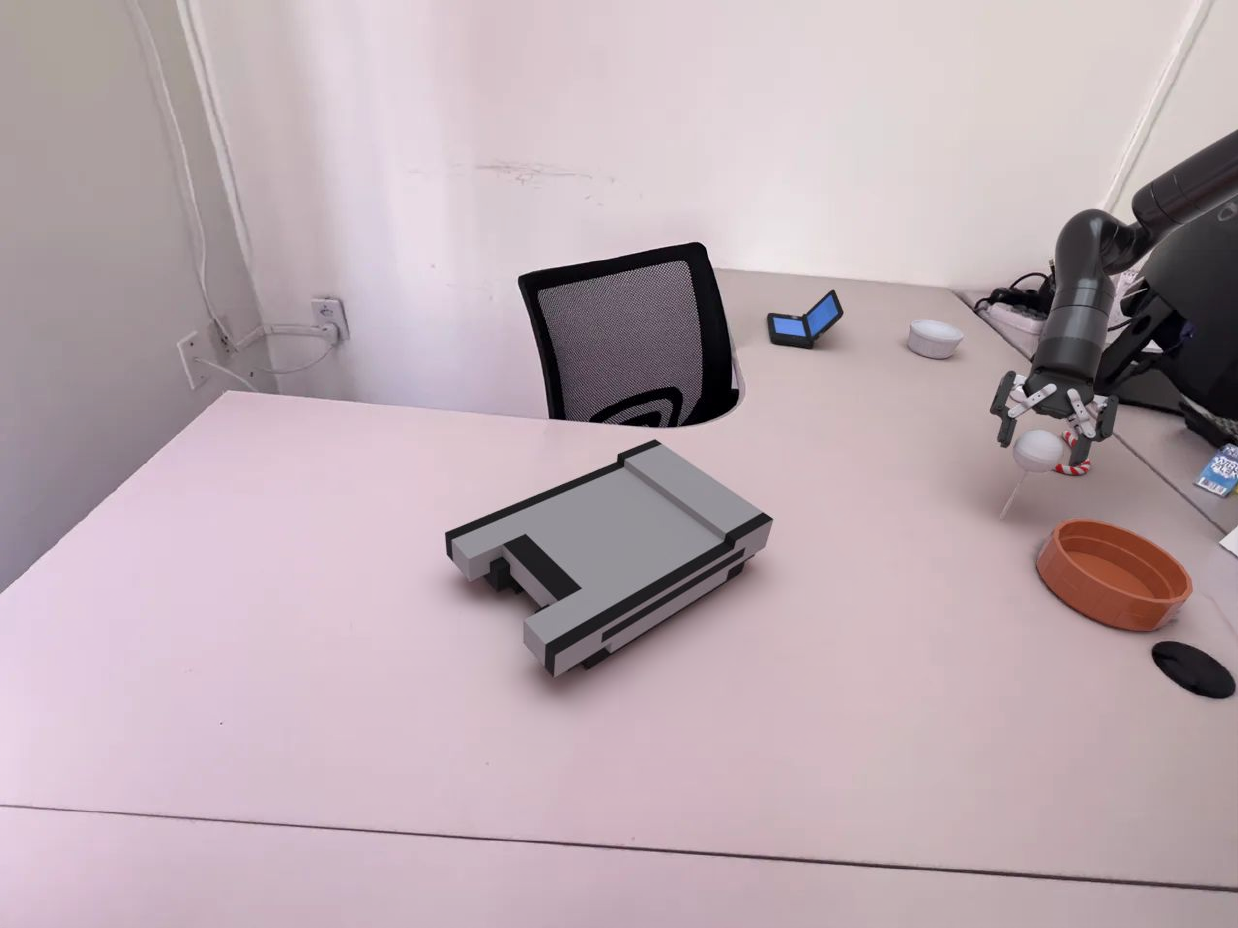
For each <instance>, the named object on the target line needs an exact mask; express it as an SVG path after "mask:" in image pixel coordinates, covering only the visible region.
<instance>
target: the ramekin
mask: <svg viewBox="0 0 1238 928" xmlns="http://www.w3.org/2000/svg"><path fill="white" fill-rule="evenodd" d="M964 337H965V334H964V332H962V330H960V328H958V327H956V326H954V325H951V324H950V323H946V322H943V321H938V320H934V319H915V320H912V321H911V322H910V324H909V331H908V338H907V346H908V348H909V350H911V351H912V352H913V353H916V354H918V355H920V356H923V357H924V358H925V357H926V358H930V359H936V360H937V359H938V360H942V359H943V360H944V359H947V358H949V357H951V356H952V355H954V353H955V351H956V350H957V348H958V346H959V345H960V343H961V342H962V341H963V340H964Z"/></svg>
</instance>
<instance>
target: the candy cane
mask: <svg viewBox="0 0 1238 928" xmlns="http://www.w3.org/2000/svg"><path fill="white" fill-rule="evenodd" d="M1061 437H1062V438H1063V439H1064V441H1065V442H1067V444H1068V445H1069V446H1070V448H1071V450H1072V449H1073V445H1074V442H1075V441H1076V440H1077V438H1075V437H1074V435H1073V434H1071V432H1069V431H1068V430H1063V431H1062V432H1061ZM1090 467H1091V460H1090V457H1088V458H1087V460H1086V461H1085V462H1084V463H1082V464H1080V465H1078V466H1076V467H1071V466H1068V465H1065V464H1062V463H1059V464H1058V465H1057V466H1056V467H1055V468H1053V469H1052V470H1053V471H1055V472H1059V473H1062V474H1064V475H1065V474H1066V475H1071V476H1072V475H1073V476H1078V475H1082V474H1085V473H1087V472H1088V471H1089V469H1090Z"/></svg>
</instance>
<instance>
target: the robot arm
mask: <svg viewBox="0 0 1238 928" xmlns="http://www.w3.org/2000/svg"><path fill="white" fill-rule="evenodd" d="M1237 195H1238V128H1237V129H1235V130H1234V131H1231V132H1230V133H1228V134H1226V135H1224V136H1223V137H1221V138H1220V139H1218V140H1216V141H1214V142H1212V143H1210V144H1209V145H1207V146H1206V147H1203V148H1202V149H1200V150H1199V151H1197V152H1195V153H1193V154H1192V155H1190V156H1189V157H1187V158H1186V159H1184V160H1182V161H1181V162H1179V163H1177V164H1176V165H1174V166H1173V167H1172V168H1170V169H1168V170H1167V171H1165V172H1163V173H1162V174H1160V175H1159V176H1157V177H1156V178H1154V179H1153V180H1151V181H1149V182H1148V183H1146V184H1145V185H1143V186H1142V187H1140V188H1139V189H1138V190H1137V191H1136V192H1135V193H1134V194H1133V196H1132V198H1131V201H1130V207H1131V211H1132V215H1133V216H1134V218H1135V219H1136V221H1134V222H1132V223H1131V224H1127V223H1125V222H1123V221H1122V220H1120V219H1119V218H1117V217H1115V216H1114V215H1113V214H1111V213H1109V212H1107V211H1106V210H1103V209H1100V208H1088V209H1084V210H1081V211H1079V212H1077V213H1076V214H1074V215H1072V217H1070V218H1069V219H1068V220H1067V221H1066V223H1065V224H1064V225H1063V227H1062V228H1061V230H1060V231H1059V233H1058V235H1057V238H1056V241H1055V248H1054V275H1055V276H1054V278H1055V279H1054V280H1055V293H1054V296H1053V300H1052V303H1051V307H1050V310H1049V313H1048V316H1047V319H1046V321H1045V324H1044V325H1043V328H1042V331H1041V333H1040V335H1039V337H1038V341H1037V347H1036V350H1035V354H1034V357H1033V360H1032V364H1031V367H1030V371H1029V374H1028V376H1027V377H1026V378H1024V377H1025V376H1024V377H1020V376H1017V375H1018V374H1017V373H1016V371H1015V370H1008V371H1007V372H1006V373H1005V374H1004V375H1003V376H1002V377H1001V379H1000V381H999V385H998V387H997V389H996V392H995V395H994V397H993V400H992V403H991V405H990V408H989V413H990V414H991V415H993V416H997V417H999V418H1000V420H1001V423H1000V427H999V429H998V433H997V436H996V441H997V443H999V447H1000V448H1004V449H1007V448H1008V447H1010V445H1011V443H1012V440H1013V436H1014V433H1015V430H1016V426H1017V422H1018V419H1017V418H1018V417H1020V416H1022V415H1023V414H1025V413H1027V412H1028V411H1030V410H1032V411H1033V412H1035V414H1036V415H1040V416H1049V417H1051V418H1053V419H1055V420H1060V421H1061V420H1062V419H1063V420H1065V422H1066V424H1067V426H1068V428H1070V429H1072V431H1073V433H1074V435H1075V437H1076V441H1075V442H1074V445H1073V449H1072V448H1071V453H1070V457H1069V460H1068V464H1067V466H1070V467H1079V466H1081V464H1082V463H1084V462H1085V461H1086V460H1087V458H1089V453H1090V451H1091V446H1092V443H1093V442H1095V443H1102V442H1104V441H1105V440H1106V439H1109V438H1111V437H1112V436H1113V434H1114V433H1113V432H1114V427H1115V422H1116V416H1117V411H1118V406H1119V401H1120V399H1119V397H1118V396H1117V395H1115V394H1111V395H1109V396H1103V395H1098V394H1095V393H1094V389H1093V388H1094V384H1095V380H1096V376H1097V373H1098V369H1099V367H1100V366H1099V365H1100V362H1101V359H1102V358H1101V357H1102V355H1103V351H1104V348H1105V344H1106V340H1107V336H1108V330H1109V329H1108V328H1109V322H1110V317H1111V315H1112V314H1111V313H1112V311H1113V306H1114V303H1115V300H1116V294H1117V286H1116V284H1115V282H1114V280H1113V279H1112V278H1111V277H1112V276H1116V275H1118V274H1122V273H1125V272H1126V271H1128V270H1130V269H1131V268H1133V267H1134V266H1135V265H1137V264H1138V263H1139V262H1140V261H1141V260H1142V259H1143V258H1145V257H1146V256H1147V255H1148V254H1149V253H1150V252H1152V250H1154V249H1155V248H1156V247H1157V246H1158V245H1160V244H1161V243H1162V242H1163V241H1164V240H1165V239H1166V238H1167V237H1169V236H1170V235H1171V234H1172V233H1173V232H1175V231H1176V230H1177V229H1179V228H1181V227H1183V226H1184V225H1187V224H1188V223H1190V222H1192V221H1193V220H1196V219H1198V218H1199V217H1201V216H1203V215H1205V214H1206V213H1208V212H1210V211H1211V210H1213V209H1215V208H1217V207H1218V206H1220V205H1222V204H1224V203H1226V202H1227V201H1229V200H1231V199H1232V198H1234V197H1236V196H1237ZM1018 386H1022V389H1023V391H1024V394H1025V396H1026V398H1027V399H1025V400H1024V401H1022V402H1019V403H1018V404H1017V405H1015V406H1014V407H1012V408H1010V407H1008V406H1007V405H1006V404H1007V402H1008V399H1009V396H1010V393H1011V391H1014V390H1015V389H1016V388H1017V387H1018ZM1089 404H1091V405H1092V406H1093V407H1094V408H1093V409H1094V412H1096V413H1097V416H1096V421H1095V427H1094V426H1093V425H1092V422H1091V417H1090V415H1089V412H1088V411H1087V409H1086V406H1088V405H1089Z"/></svg>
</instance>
